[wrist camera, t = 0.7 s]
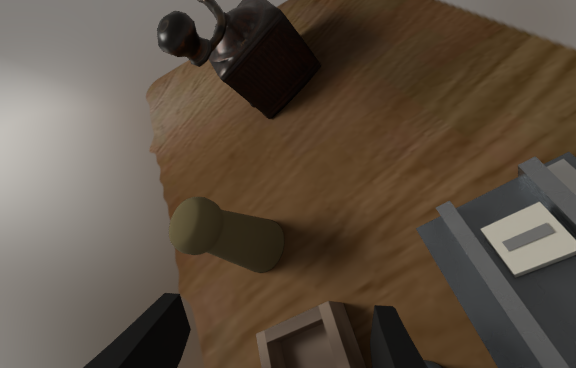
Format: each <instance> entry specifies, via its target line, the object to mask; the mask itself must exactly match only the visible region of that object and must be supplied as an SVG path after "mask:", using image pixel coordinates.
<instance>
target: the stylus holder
mask: <svg viewBox="0 0 576 368" xmlns="http://www.w3.org/2000/svg"><path fill="white" fill-rule="evenodd" d="M256 337H257V343H258V349H259V355H260V361H261V367H262V368H366V366H365V363H364V360H363V357H362V354H361V352H360V349H359V346H358V343H357V340H356V338H355V335H354V332H353V329H352V326H351V324H350V321H349V318H348V315H347V312H346V310H345V307H344V304H343V303H341V302H332V301H327V302H325V303H323V304H321V305H319V306H316V307H314V308H312V309H310V310H308V311H306V312H303V313H301V314H299V315H297V316H295V317H292V318H290V319H288V320H286V321H284V322H281V323H279V324H277V325H275V326H273V327H271V328H268V329H266V330H264V331H262V332H260V333H257V334H256Z"/></svg>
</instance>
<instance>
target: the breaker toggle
mask: <svg viewBox="0 0 576 368" xmlns="http://www.w3.org/2000/svg"><path fill="white" fill-rule="evenodd" d="M481 231H482V233H483V235H484V237H485V238H486V239H487V241H488V242H489V244H490V245H491V246H492V248H493V249H494V250H495V252H496V253H497V254H498V256H499V257H500V258H501V260H502V261H503V262H504V264H505V265H506V267H507V268H508V269H509V271H510V272H511V273H512V275H513V276H514V277H515V278H516V277H519V276H522V275H524V274H527V273H530V272H532V271H535V270H537V269H540V268H543V267H545V266H548V265H551V264H553V263H556V262H558V261H561V260H564V259H566V258H569V257H572V256H574V255H576V240H575V239H574V238H573V237H572V235H571V234H570V233H569V232H568V231H567V230H566V229H565V228H564V227H563V226H562V225H561V224H560V223H559V222H558V221H557V220H556V218H555V217H554V216H553V215H552V214H551V213H550V212H549V211H548V210H547V209H546V208H545V207H544V206H543V205H542V204H541V203H540V202H538V203H536V204H533V205H531V206H529V207H527V208H525V209H523V210H520V211H518V212H516V213H514V214H512V215H509V216H507V217H505V218H503V219H501V220H499V221H496V222H494V223H492V224H490V225H488V226H486V227H483V228H481Z"/></svg>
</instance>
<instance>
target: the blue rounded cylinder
mask: <svg viewBox="0 0 576 368" xmlns="http://www.w3.org/2000/svg"><path fill="white" fill-rule="evenodd" d="M424 362H425V363H426V365H427V367H428V368H442V367H441V366H440V365H438V364H436V363H434V362H432V361H427V360H424Z"/></svg>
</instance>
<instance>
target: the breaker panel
mask: <svg viewBox="0 0 576 368" xmlns="http://www.w3.org/2000/svg"><path fill="white" fill-rule="evenodd" d="M538 202H540V203H541V204H542V205H543V206H544V207H545V208H546V209H547V210H548V211H549V212H550V213H551V214H552V215H553V216H554V217H555V218H556V220H557V221H558V222H559V223H560V224H561V225H562V226H563V227H564V228H565V229H566V230H567V231H568V232H569V233H570V234H571V235H572V237H573V238H574V239H575V240H576V157H574V156H573V155H572V154H571V153H570V152H567V153H565V154H563V155H561V156H559V157H557V158H555V159H553V160H551V161H549V162H547V163H545V164H543V163H542V162H540V161H539V160H538V159H537V158H536V157H533V158H531V159H529V160H527V161H526V162H524V163H522V164H520V165H518V178H516V179H514V180H512V181H510V182H508V183H506V184H504V185H502V186H500V187H498V188H496V189H494V190H492V191H490V192H488V193H486V194H484V195H482V196H480V197H478V198H476V199H474V200H472V201H470V202H468V203H466V204H464V205H462V206H460V207H458V208H456V209H455V207H454V206H453V205H452V203H451V202H450V201H448V202H446V203H444V204H442V205H440V206H438V207H437V208H436V209H437V211H438V212H439V214H440V215H441V216H440V217H438V218H436V219H434V220H432V221H430V222H428V223H426V224H424V225H422V226H420V227H418V228H416V229H417V231H418V233H419V234H420V236H421V238H422V239H423V241H424V243H425V245H426V246H427V248H428V250H429V251H430V253H431V255H432V256H433V258H434V260H435V261H436V263H437V265H438V267H439V268H440V270H441V272H442V273H443V275H444V277H445V278H446V280H447V282H448V283H449V285H450V287H451V289H452V290H453V292H454V294H455V295H456V297H457V299H458V300H459V302H460V304H461V305H462V307H463V309H464V310H465V312H466V314H467V316H468V317H469V319H470V321H471V322H472V324H473V326H474V327H475V329H476V331H477V332H478V334H479V336H480V338H481V339H482V341H483V343H484V344H485V346H486V348H487V349H488V351H489V353H490V354H491V356H492V358H493V360H494V361H495V363H496V365H497V366H498V368H576V255H574V256H572V257H569V258H566V259H564V260H561V261H558V262H556V263H553V264H551V265H548V266H545V267H543V268H540V269H537V270H535V271H532V272H530V273H527V274H524V275H522V276H519V277H516V278H515V277H514V276H513V275H512V273H511V272H510V271H509V269H508V268H507V267H506V265H505V264H504V262H503V261H502V260H501V258H500V257H499V256H498V254H497V253H496V252H495V250H494V249H493V248H492V246H491V245H490V244H489V242H488V241H487V239H486V238H485V237H484V235H483V233H482V231H481V228H483V227H486V226H488V225H490V224H492V223H494V222H496V221H499V220H501V219H503V218H505V217H507V216H509V215H512V214H514V213H516V212H518V211H520V210H523V209H525V208H527V207H529V206H531V205H533V204H536V203H538Z"/></svg>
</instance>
